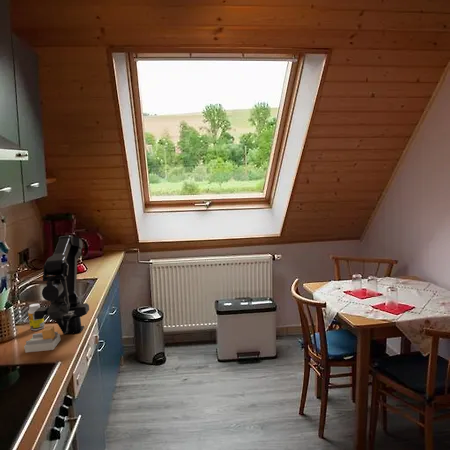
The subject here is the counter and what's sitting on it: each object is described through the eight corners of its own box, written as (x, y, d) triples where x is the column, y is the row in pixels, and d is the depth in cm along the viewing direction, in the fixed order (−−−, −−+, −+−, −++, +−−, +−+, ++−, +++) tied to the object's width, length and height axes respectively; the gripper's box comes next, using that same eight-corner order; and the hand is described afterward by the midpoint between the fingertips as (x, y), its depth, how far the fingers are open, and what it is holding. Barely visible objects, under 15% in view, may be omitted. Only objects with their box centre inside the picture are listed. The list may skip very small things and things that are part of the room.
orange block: (47, 337, 166) (45, 326, 166) (55, 336, 166) (53, 326, 166) (43, 341, 162) (41, 331, 162) (51, 340, 163) (50, 330, 162)
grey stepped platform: (34, 342, 169) (32, 333, 168) (60, 339, 169) (59, 330, 169) (25, 352, 160) (23, 342, 159) (53, 349, 161) (51, 340, 160)
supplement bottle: (30, 327, 185) (27, 304, 184) (44, 324, 188) (41, 301, 186) (30, 332, 180) (26, 308, 179) (44, 329, 182) (41, 305, 181)
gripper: (25, 302, 154) (31, 344, 156) (79, 297, 155) (84, 339, 157) (36, 292, 165) (42, 332, 167) (87, 288, 166) (92, 327, 168)
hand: (64, 333), depth 165 cm, fingers closed
